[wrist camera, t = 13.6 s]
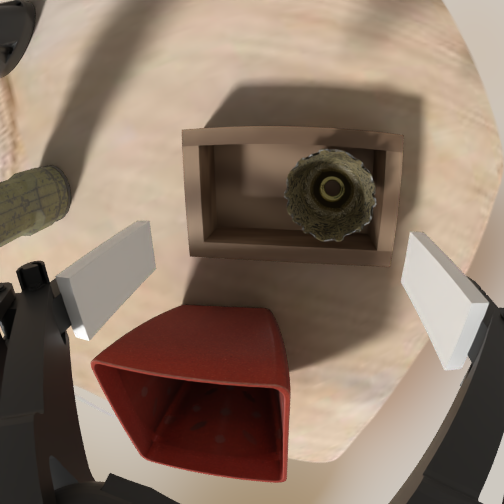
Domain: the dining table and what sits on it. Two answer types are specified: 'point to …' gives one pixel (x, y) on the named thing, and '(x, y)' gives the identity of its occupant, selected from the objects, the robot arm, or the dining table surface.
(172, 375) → the plant pot
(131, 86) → the dining table surface
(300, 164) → the olive textured bell shape
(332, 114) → the dining table surface
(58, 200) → the thermos
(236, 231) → the walnut box
